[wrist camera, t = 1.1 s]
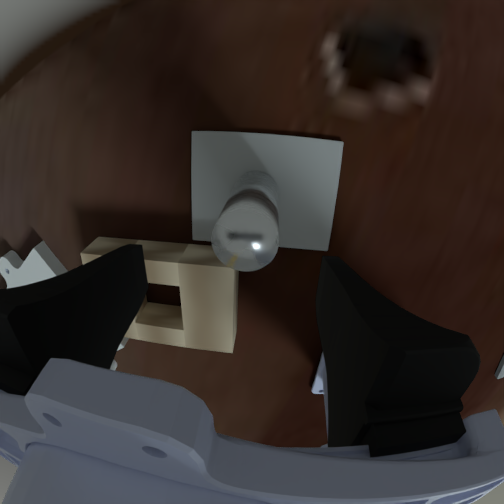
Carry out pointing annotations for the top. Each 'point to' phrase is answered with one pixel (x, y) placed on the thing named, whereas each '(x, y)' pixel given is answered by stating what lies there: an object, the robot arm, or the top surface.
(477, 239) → the top surface
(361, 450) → the robot arm
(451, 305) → the top surface
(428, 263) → the top surface
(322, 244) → the mat
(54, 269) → the mounting plate
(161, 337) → the hole block
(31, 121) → the top surface
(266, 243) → the peg
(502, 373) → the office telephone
